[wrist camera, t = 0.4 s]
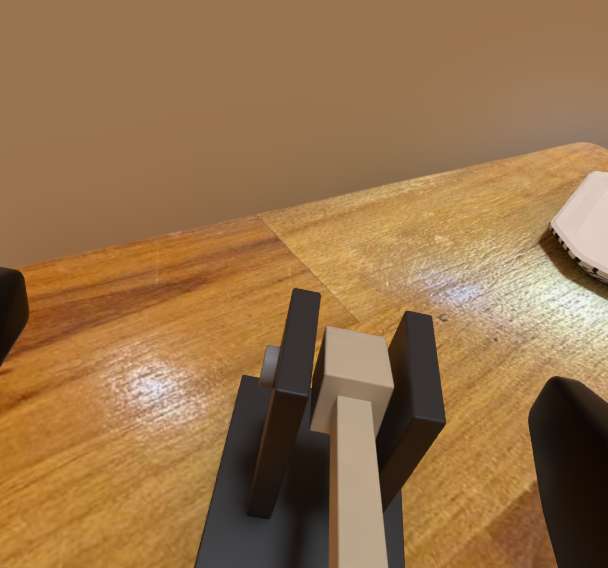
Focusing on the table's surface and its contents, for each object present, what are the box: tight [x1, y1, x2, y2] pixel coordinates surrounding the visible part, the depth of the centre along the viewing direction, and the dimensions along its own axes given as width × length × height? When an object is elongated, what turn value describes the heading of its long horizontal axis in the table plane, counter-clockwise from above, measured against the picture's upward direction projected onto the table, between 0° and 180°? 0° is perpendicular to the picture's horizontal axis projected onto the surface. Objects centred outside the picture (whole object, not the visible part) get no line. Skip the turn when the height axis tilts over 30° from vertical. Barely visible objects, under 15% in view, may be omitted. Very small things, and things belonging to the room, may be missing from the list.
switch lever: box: [309, 326, 394, 568], centre depth 12 cm, size 12×3×3 cm, turn 174°
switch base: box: [194, 288, 446, 568], centre depth 18 cm, size 9×8×10 cm
